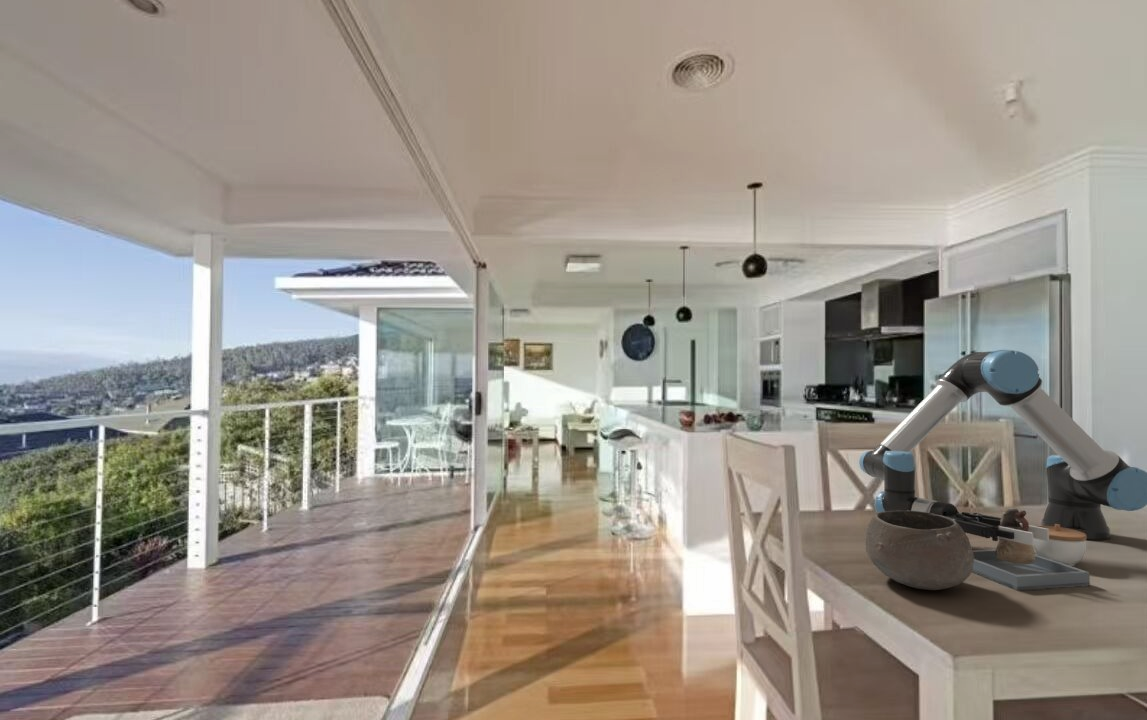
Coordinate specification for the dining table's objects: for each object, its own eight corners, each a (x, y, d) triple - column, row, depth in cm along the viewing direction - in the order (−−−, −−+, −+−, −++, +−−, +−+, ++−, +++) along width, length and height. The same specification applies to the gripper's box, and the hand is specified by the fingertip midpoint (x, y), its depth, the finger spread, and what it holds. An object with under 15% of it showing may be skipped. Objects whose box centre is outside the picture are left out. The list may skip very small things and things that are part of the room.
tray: (1015, 560, 142) (1015, 548, 142) (1089, 586, 124) (1089, 572, 124) (951, 563, 139) (951, 551, 139) (1017, 590, 121) (1016, 576, 122)
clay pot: (981, 609, 112) (979, 534, 112) (864, 591, 122) (862, 522, 123) (967, 576, 130) (965, 511, 131) (867, 563, 140) (865, 503, 141)
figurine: (1014, 554, 136) (1012, 504, 136) (1043, 563, 129) (1041, 511, 129) (988, 555, 135) (987, 505, 135) (1016, 565, 128) (1014, 512, 128)
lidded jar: (1037, 565, 137) (1035, 527, 138) (1026, 553, 147) (1025, 517, 147) (1094, 572, 132) (1093, 532, 133) (1079, 559, 142) (1078, 521, 142)
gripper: (957, 525, 152) (1061, 547, 132) (913, 534, 143) (1018, 560, 123) (956, 497, 152) (1060, 515, 132) (913, 505, 144) (1017, 525, 123)
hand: (1040, 537), depth 127 cm, fingers closed on figurine, 6 cm apart
